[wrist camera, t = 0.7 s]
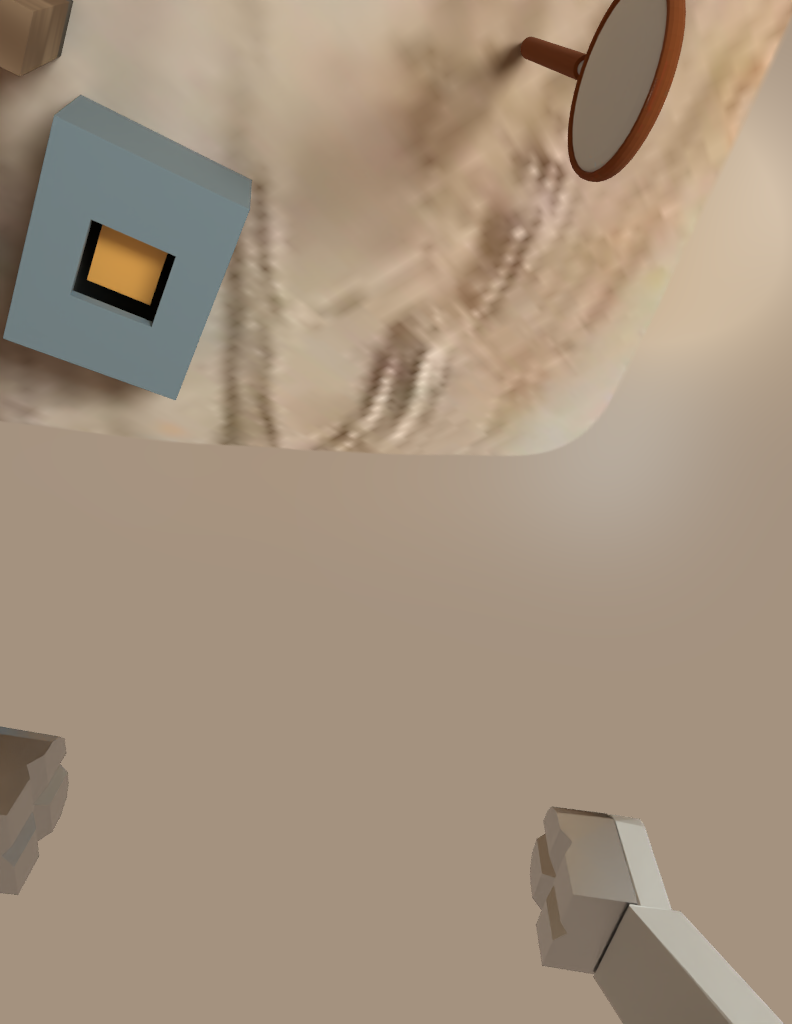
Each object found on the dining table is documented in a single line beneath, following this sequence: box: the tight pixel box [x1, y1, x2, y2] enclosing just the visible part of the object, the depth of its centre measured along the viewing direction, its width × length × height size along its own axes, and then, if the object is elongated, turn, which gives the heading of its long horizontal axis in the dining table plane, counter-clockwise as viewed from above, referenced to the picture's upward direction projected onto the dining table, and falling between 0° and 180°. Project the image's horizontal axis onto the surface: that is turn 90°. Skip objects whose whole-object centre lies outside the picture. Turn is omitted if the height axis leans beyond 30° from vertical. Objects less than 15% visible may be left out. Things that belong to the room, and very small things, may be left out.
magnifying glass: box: [521, 0, 686, 182], centre depth 38 cm, size 9×2×20 cm, turn 166°
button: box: [87, 225, 167, 305], centre depth 46 cm, size 4×4×3 cm
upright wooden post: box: [0, 0, 73, 76], centre depth 38 cm, size 3×3×9 cm
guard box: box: [3, 95, 252, 400], centre depth 47 cm, size 14×11×7 cm
